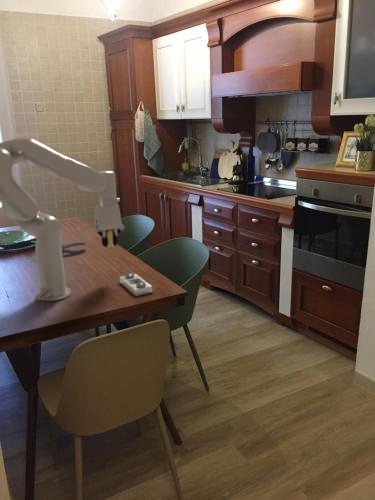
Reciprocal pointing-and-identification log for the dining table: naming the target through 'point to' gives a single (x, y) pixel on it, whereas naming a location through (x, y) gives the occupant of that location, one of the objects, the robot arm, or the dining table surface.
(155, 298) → the dining table surface
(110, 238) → the pin
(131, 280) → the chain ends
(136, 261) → the dining table surface
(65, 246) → the pliers
